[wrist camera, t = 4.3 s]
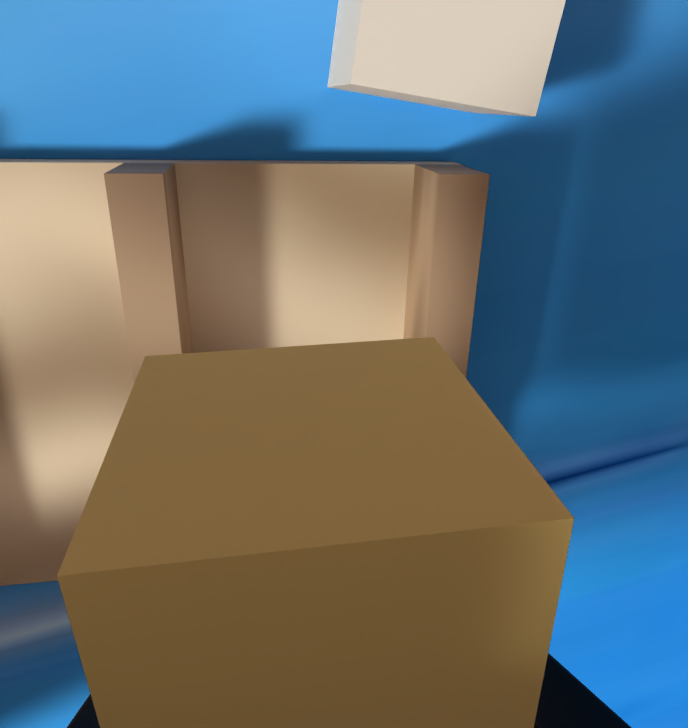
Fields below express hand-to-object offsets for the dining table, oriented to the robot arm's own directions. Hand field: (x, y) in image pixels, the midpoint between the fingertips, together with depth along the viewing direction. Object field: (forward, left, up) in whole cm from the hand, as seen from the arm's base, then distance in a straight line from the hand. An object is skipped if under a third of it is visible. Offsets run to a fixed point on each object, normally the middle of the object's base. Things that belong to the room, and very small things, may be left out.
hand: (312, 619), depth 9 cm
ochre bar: (0, 0, -1) cm, 1 cm away
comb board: (-1, +3, -10) cm, 10 cm away
